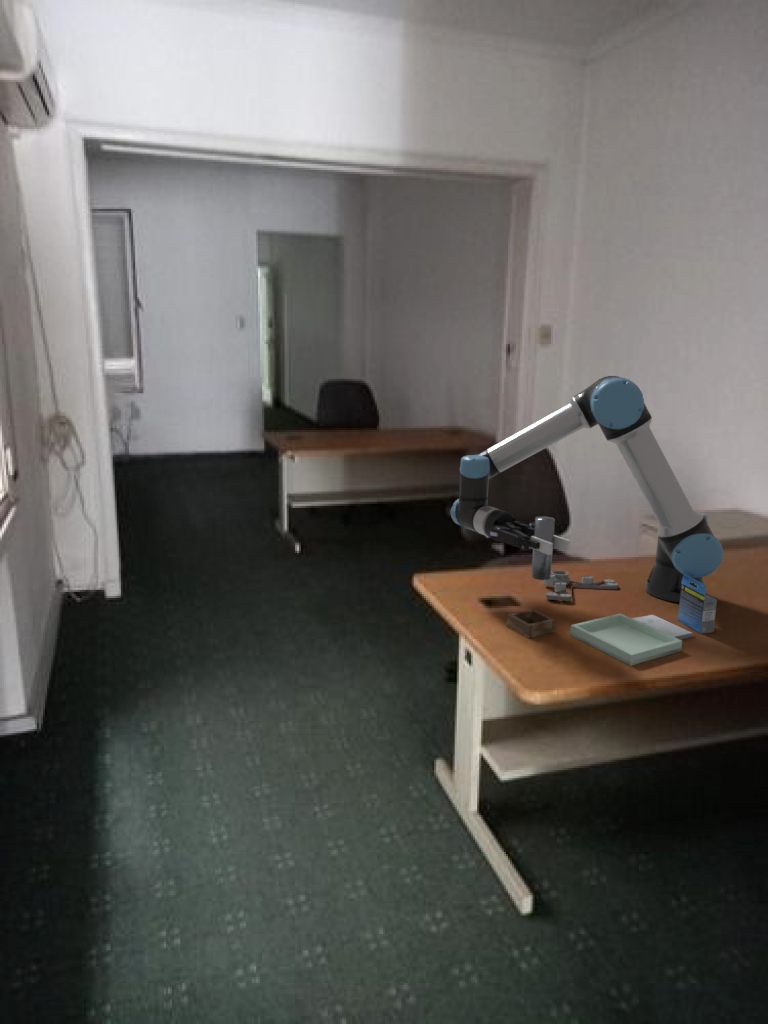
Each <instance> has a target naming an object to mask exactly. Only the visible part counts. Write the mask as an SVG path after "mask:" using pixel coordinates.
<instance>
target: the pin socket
mask: <svg viewBox="0 0 768 1024" xmlns="http://www.w3.org/2000/svg"><path fill="white" fill-rule="evenodd" d="M530 622H531V623H530ZM532 622H533V623H532ZM507 626H508V627H507ZM506 627H507V628H509V627H510V628H509V629H511V628H512V630H513V629H514V630H515V632H516V631H517V632H516V633H518V632H519V633H518V634H520V633H521V634H520V635H522V634H523V635H525V636H526V638H527V637H528V639H531V638H530V637H532V638H535V637H540V636H544V635H548V633H549V634H551V632H553V633H555V632H556V619H555V618H553V617H550V616H549V615H546V614H544V613H542V612H541V611H538V610H536V609H534V608H531V609H526V610H522V611H518V612H512V613H507V615H506ZM514 630H513V631H514ZM554 631H555V632H554ZM523 635H522V636H523ZM525 636H524V637H525Z"/></svg>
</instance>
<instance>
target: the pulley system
mask: <svg viewBox="0 0 768 1024" xmlns="http://www.w3.org/2000/svg"><path fill="white" fill-rule="evenodd" d="M569 575H570V572H568V571H564V570H553V571H552V570H551V578H550V579H548V580H542V581H543V582H542V583H543V585H545V586H547V587H549V586H550V587H554V591H555V592H554V591H552V592H546V593H545V599H546V600H549V601H550V600H555V601H564V602H566V601H567V602H568V601H572V596H573V595H572V591H573V590H572V589H574V588H573V587H577V588H576V589H596V590H597V589H599V590H601V589H602V590H613V589H614V590H618V589H619V583H617V582H616V581H615V579H610V578H608V579H603V580H601V581H597V582H595V581H594V580H595V577H594V576H591V575H583V576H582V578H581V582H579V581H575V580H571V577H569ZM569 582H572V583H571V585H570V583H569ZM573 583H576V584H573ZM568 584H569V585H570V587H571V588H570V593H567V586H566V585H568ZM577 584H579V585H577ZM601 584H604V585H601ZM554 585H555V586H554ZM569 585H568V586H569ZM558 595H559V596H558Z"/></svg>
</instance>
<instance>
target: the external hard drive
mask: <svg viewBox="0 0 768 1024" xmlns="http://www.w3.org/2000/svg"><path fill="white" fill-rule="evenodd" d="M631 618H632V617H631ZM632 619H634V620H636V621H639V622H641V623H643V624H645V625H648V626H650V627H652V628H654V629H657V630H659V631H661V632H664V633H666V634H668V635H670V636H673V637H675V638H677V639H679V640H683V639H689V638H692V637H694V632H691V631H689V630H687V629H685V628H683V627H682V626H681V627H680V626H679V625H677V624H674V623H672V622H669V621H667V620H665V619H664V618H661V617H658V616H656V615H655V614H648V615H644V616H638V617H637V616H636V617H633V618H632Z"/></svg>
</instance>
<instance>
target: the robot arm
mask: <svg viewBox="0 0 768 1024" xmlns="http://www.w3.org/2000/svg"><path fill="white" fill-rule="evenodd" d="M652 420H653V417H652V415H651V413H650V411H649V409H648V408H647V405H646V404H645V399H644V395H643V393H642V391H641V389H640V388H639V386H638V385H637V384H636V383H635V382H634V381H632V380H630V379H627V378H625V377H621V376H618V375H607V376H604V377H601V378H598V380H596V381H595V382H593V383H591V385H589V386H588V387H586V388H585V389H583V390H582V391H580V392H579V393H576V394H575V395H573V396H572V397H571V400H570V401H569V403H567V404H565V405H563V406H562V407H559V408H557V410H554V411H552V412H551V413H549V414H547V415H546V416H544V417H542V418H540V419H538V420H537V421H534V422H532V423H531V424H529V425H527V426H526V427H524V428H522V429H520V430H518V431H516V432H515V433H513V434H511V435H510V436H508V437H506V438H505V439H502V440H501V441H499V442H497V443H495V444H494V445H492V446H490V447H488V448H487V449H484V450H483V451H481V452H480V453H477V454H472V455H471V454H469V455H463V456H462V457H461V458H460V466H459V493H458V494H459V495H458V498H457V499H455V501H454V502H453V504H452V506H451V508H450V516H451V519H452V521H453V522H454V523H455V524H456V525H459V527H461V528H463V529H467V530H470V531H473V532H475V533H477V534H480V535H483V536H484V537H485V538H487V539H492V540H494V541H496V542H497V541H498V542H500V543H501V542H502V543H505V544H507V545H510V546H512V547H515V548H519V549H520V548H521V547H523V551H525V552H526V551H529V550H530V549H532V550H533V549H535V550H537V551H540V552H542V553H545V554H547V555H552V556H553V552H552V548H553V549H556V550H560V551H562V552H566V553H569V552H570V546H571V540H570V539H567V538H565V537H561V536H559V535H557V531H556V530H554V538H553V543H551V542H548V541H546V540H543V539H540V538H537V537H535V536H534V528H535V522H533V521H530V522H529V524H526V523H523V522H521V521H518V520H516V519H515V516H514V515H513V514H512V513H510V512H508V511H504V510H502V509H500V508H496V507H493V506H490V505H488V500H489V484H490V483H489V481H490V479H491V478H493V477H495V476H497V475H498V474H501V473H502V472H504V471H506V470H508V469H509V468H512V467H513V466H515V465H517V464H519V463H521V462H522V461H524V460H527V459H528V458H530V457H532V456H533V455H535V454H537V453H539V452H541V451H543V450H545V449H547V448H548V447H550V446H552V445H555V444H556V443H558V442H559V441H561V440H563V439H565V438H567V437H569V436H571V435H572V434H574V433H577V432H578V431H580V430H582V429H584V428H585V429H592V428H593V427H595V426H597V425H598V426H599V428H600V429H601V432H602V434H603V435H604V437H605V439H606V441H607V442H611V443H613V444H615V445H616V446H617V448H618V450H619V451H620V454H621V455H622V457H623V459H624V461H625V462H626V466H627V467H628V469H629V470H630V472H631V474H632V476H633V478H634V480H635V483H636V484H637V486H638V488H639V489H640V491H641V493H642V495H643V497H644V498H645V500H646V502H647V505H648V506H649V508H650V510H651V512H652V515H654V517H655V520H656V521H657V523H658V529H657V532H656V533H657V535H656V536H657V543H656V553H655V562H654V565H653V567H652V569H651V571H650V573H649V575H648V578H647V579H646V582H645V589H646V590H645V592H646V593H648V594H649V595H651V596H652V597H655V598H657V599H661V600H663V601H668V602H676V603H680V594H681V584H682V579H683V575H684V574H686V575H687V576H689V577H691V578H693V579H695V580H697V581H699V582H701V583H703V584H705V583H704V577H707V576H709V575H712V574H713V573H714V572H715V571H717V569H718V568H720V566H721V564H722V562H723V559H724V550H723V549H724V548H723V546H722V545H723V544H722V542H721V541H720V540H719V539H718V538H717V537H716V536H715V535H714V533H713V532H712V530H711V528H710V526H709V522H708V515H706V514H705V513H702V512H699V511H697V510H694V509H693V508H692V506H691V504H690V502H689V500H688V498H687V496H686V494H685V492H684V490H683V489H682V487H681V485H680V482H679V481H678V479H677V476H676V475H675V473H674V472H673V470H672V467H671V465H670V464H669V461H668V460H667V458H666V456H665V455H664V452H663V451H662V448H661V447H660V444H659V442H658V441H657V439H656V437H655V435H654V433H653V432H652V429H651V428H650V425H651V422H652ZM690 585H692V586H693V587H695V588H697V585H695V583H691V582H690Z"/></svg>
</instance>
